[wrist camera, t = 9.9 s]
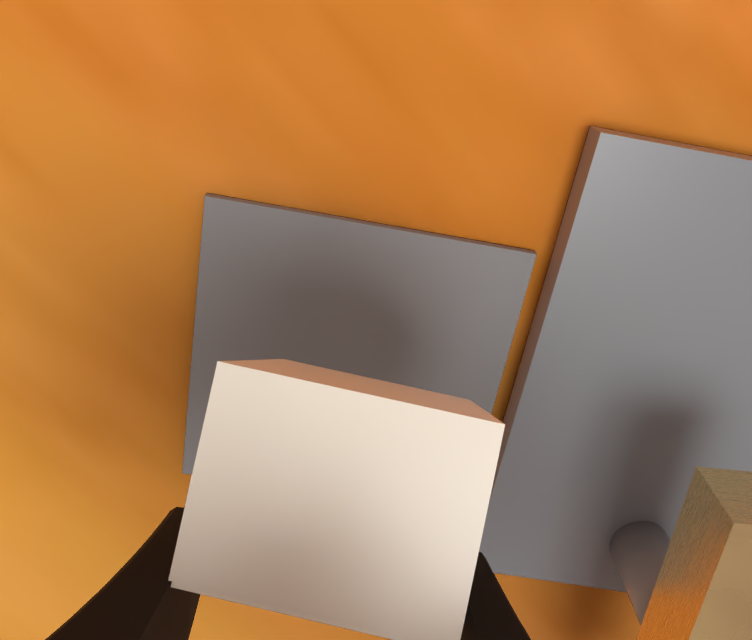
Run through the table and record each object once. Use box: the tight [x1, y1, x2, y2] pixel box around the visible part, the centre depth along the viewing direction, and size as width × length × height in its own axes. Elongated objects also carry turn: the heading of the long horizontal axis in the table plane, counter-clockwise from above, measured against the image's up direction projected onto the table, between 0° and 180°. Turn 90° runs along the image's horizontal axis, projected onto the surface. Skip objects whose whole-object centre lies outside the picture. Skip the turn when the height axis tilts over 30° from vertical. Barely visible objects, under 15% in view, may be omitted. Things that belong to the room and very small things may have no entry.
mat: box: [182, 193, 537, 475], centre depth 21 cm, size 9×9×1 cm
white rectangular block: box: [168, 359, 505, 640], centre depth 14 cm, size 4×6×4 cm
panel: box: [479, 126, 752, 625], centre depth 19 cm, size 10×14×5 cm
